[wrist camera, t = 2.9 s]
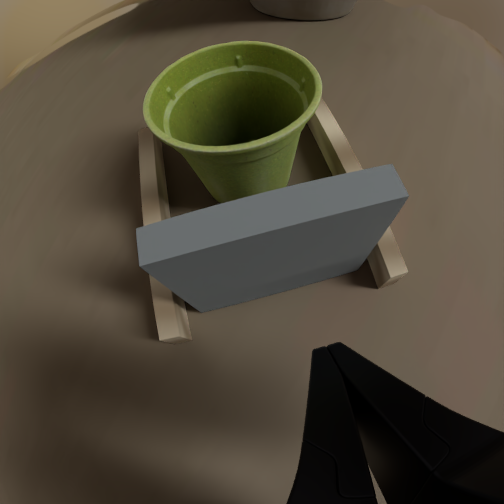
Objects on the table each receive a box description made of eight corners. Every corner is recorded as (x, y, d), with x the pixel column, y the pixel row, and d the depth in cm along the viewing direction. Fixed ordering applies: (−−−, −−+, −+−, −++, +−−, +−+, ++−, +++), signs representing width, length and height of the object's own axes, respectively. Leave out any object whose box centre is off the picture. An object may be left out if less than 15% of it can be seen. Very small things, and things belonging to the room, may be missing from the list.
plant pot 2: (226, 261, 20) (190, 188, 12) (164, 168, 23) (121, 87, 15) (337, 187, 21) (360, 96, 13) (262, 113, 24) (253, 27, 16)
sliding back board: (357, 270, 19) (409, 195, 10) (201, 312, 19) (139, 266, 10) (338, 218, 20) (368, 124, 12) (190, 257, 20) (132, 181, 12)
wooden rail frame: (394, 283, 18) (408, 271, 16) (174, 344, 18) (159, 340, 16) (313, 107, 24) (314, 86, 22) (148, 149, 24) (138, 130, 22)
